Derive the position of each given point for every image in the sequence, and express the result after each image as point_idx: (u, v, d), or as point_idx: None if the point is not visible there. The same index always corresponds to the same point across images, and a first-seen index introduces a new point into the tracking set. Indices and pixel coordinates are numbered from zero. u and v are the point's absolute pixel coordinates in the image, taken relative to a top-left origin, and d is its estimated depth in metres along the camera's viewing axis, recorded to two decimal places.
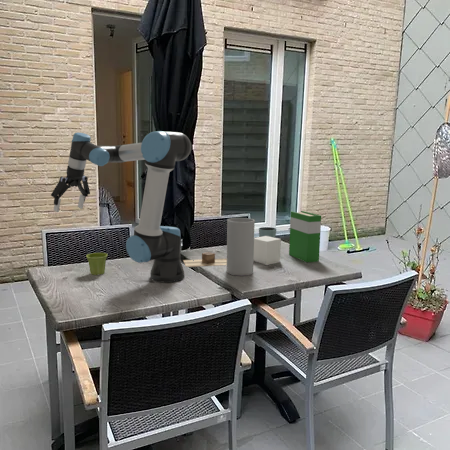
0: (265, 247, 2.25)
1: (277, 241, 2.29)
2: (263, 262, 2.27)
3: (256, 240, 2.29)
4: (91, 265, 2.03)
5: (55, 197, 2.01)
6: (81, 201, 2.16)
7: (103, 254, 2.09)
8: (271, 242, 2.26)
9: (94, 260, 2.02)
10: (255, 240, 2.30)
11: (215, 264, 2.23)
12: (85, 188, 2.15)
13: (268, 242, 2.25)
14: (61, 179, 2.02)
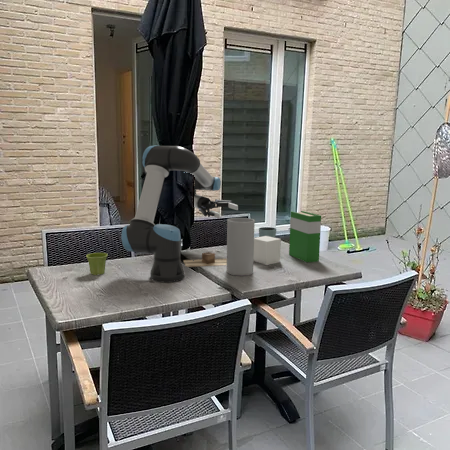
0: (265, 247, 2.25)
1: (277, 241, 2.29)
2: (263, 262, 2.27)
3: (256, 240, 2.29)
4: (91, 265, 2.03)
5: (205, 211, 2.38)
6: (232, 205, 2.46)
7: (103, 254, 2.09)
8: (271, 242, 2.26)
9: (94, 260, 2.02)
10: (255, 240, 2.30)
11: (215, 264, 2.23)
12: None
13: (268, 242, 2.25)
14: (199, 209, 2.45)
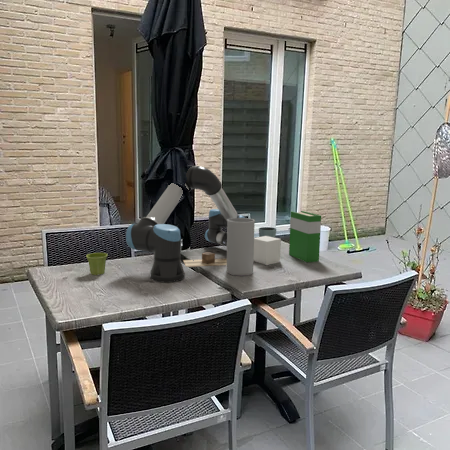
0: (265, 247, 2.25)
1: (277, 241, 2.29)
2: (263, 262, 2.27)
3: (256, 240, 2.29)
4: (91, 265, 2.03)
5: None
6: None
7: (103, 254, 2.09)
8: (271, 242, 2.26)
9: (94, 260, 2.02)
10: (255, 240, 2.30)
11: (215, 264, 2.23)
12: None
13: (268, 242, 2.25)
14: (223, 242, 2.46)
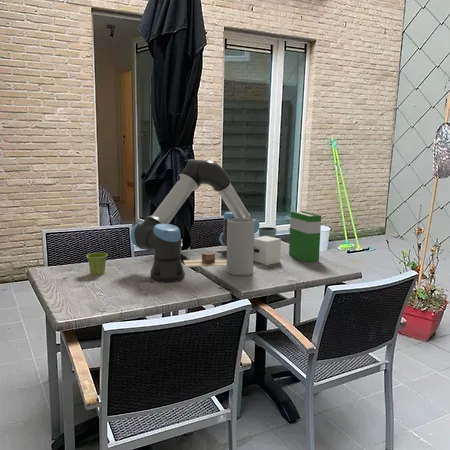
0: (265, 247, 2.25)
1: (277, 241, 2.29)
2: (263, 262, 2.27)
3: (256, 240, 2.29)
4: (91, 265, 2.03)
5: None
6: None
7: (103, 254, 2.09)
8: (271, 242, 2.26)
9: (94, 260, 2.02)
10: (255, 240, 2.30)
11: (215, 264, 2.23)
12: None
13: (268, 242, 2.25)
14: None
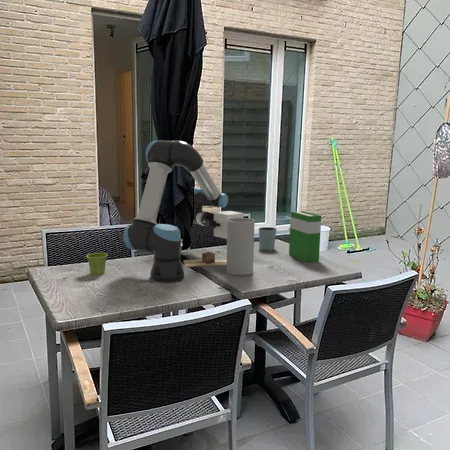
0: (226, 221, 2.20)
1: (239, 215, 2.24)
2: (224, 236, 2.23)
3: (218, 214, 2.25)
4: (91, 265, 2.03)
5: (211, 221, 2.24)
6: None
7: (103, 254, 2.09)
8: (232, 216, 2.22)
9: (94, 260, 2.02)
10: (217, 214, 2.25)
11: (215, 264, 2.23)
12: None
13: (229, 215, 2.20)
14: (203, 221, 2.32)
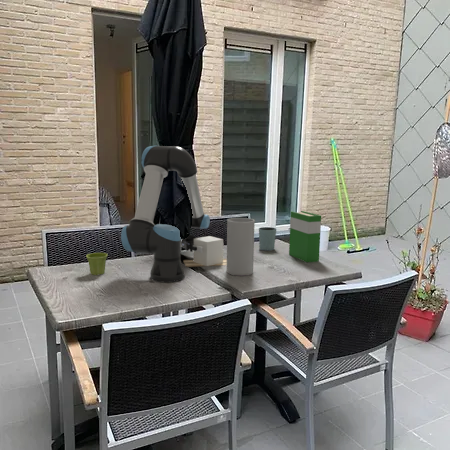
0: (205, 248, 2.19)
1: (219, 241, 2.23)
2: (204, 263, 2.21)
3: (197, 240, 2.23)
4: (91, 265, 2.03)
5: (187, 245, 2.22)
6: None
7: (103, 254, 2.09)
8: (212, 242, 2.20)
9: (94, 260, 2.02)
10: (196, 240, 2.24)
11: (215, 264, 2.23)
12: None
13: (208, 242, 2.19)
14: (182, 244, 2.30)
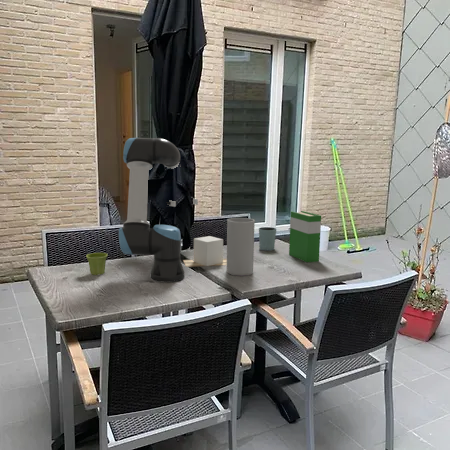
0: (205, 248, 2.19)
1: (219, 241, 2.23)
2: (204, 263, 2.21)
3: (197, 240, 2.23)
4: (91, 265, 2.03)
5: None
6: None
7: (103, 254, 2.09)
8: (212, 242, 2.20)
9: (94, 260, 2.02)
10: (196, 240, 2.24)
11: (215, 264, 2.23)
12: None
13: (208, 242, 2.19)
14: None
